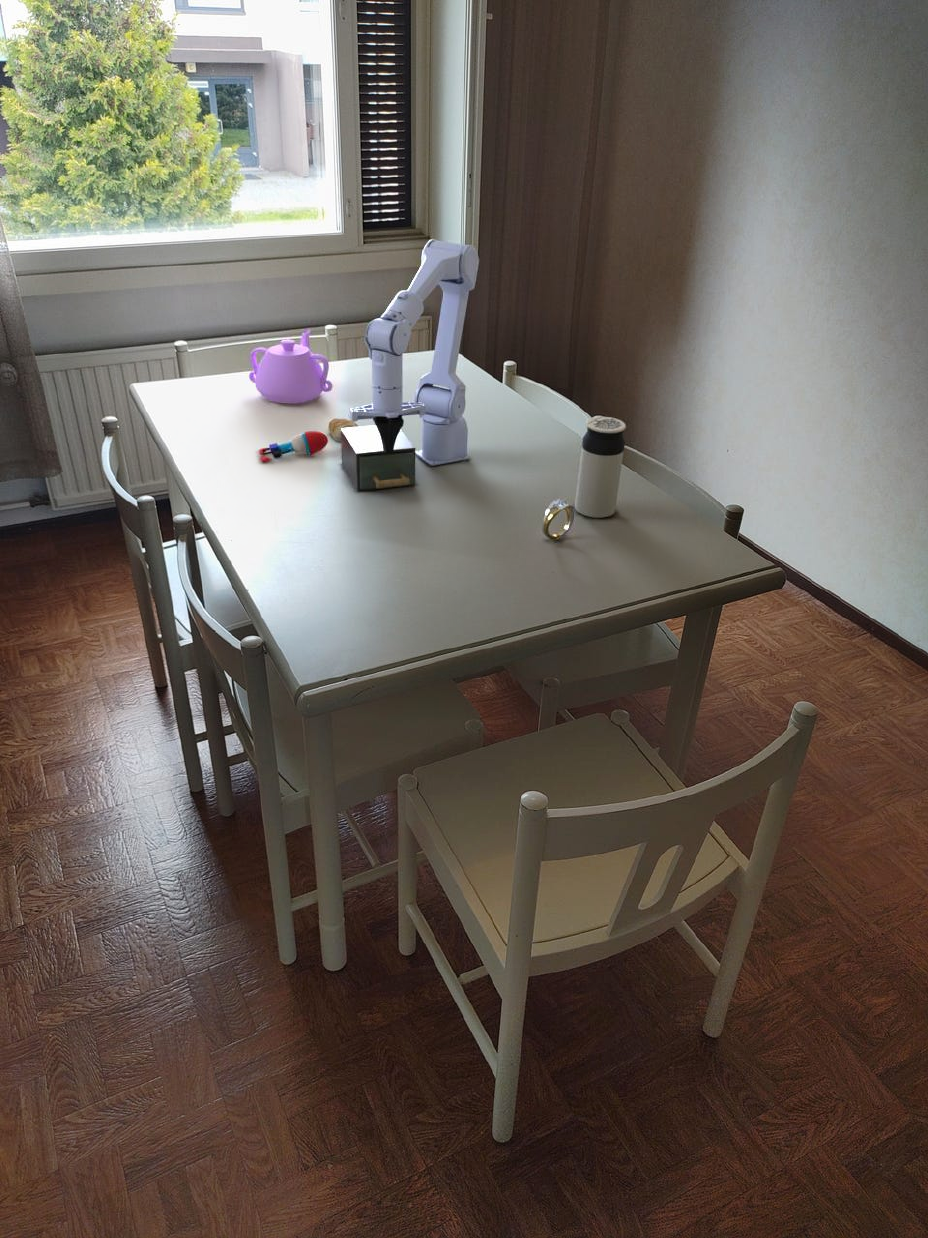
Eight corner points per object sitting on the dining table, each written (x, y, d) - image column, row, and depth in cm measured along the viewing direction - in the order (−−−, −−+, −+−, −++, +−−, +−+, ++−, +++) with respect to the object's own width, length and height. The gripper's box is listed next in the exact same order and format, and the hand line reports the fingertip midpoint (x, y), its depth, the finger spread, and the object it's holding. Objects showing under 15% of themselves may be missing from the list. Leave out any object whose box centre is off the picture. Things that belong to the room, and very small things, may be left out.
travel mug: (622, 511, 180) (635, 424, 170) (597, 522, 175) (609, 434, 166) (591, 497, 185) (602, 412, 175) (566, 508, 180) (576, 422, 170)
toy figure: (264, 470, 193) (332, 454, 195) (258, 449, 190) (327, 432, 193) (260, 459, 199) (327, 443, 202) (254, 438, 197) (322, 422, 199)
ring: (546, 547, 166) (550, 507, 162) (536, 539, 168) (539, 500, 164) (576, 538, 170) (581, 499, 165) (565, 531, 172) (569, 492, 167)
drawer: (420, 492, 182) (420, 462, 178) (366, 498, 178) (365, 467, 175) (396, 459, 195) (396, 430, 192) (346, 464, 192) (345, 434, 188)
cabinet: (415, 485, 186) (415, 447, 182) (357, 491, 183) (356, 453, 178) (396, 459, 197) (396, 423, 193) (341, 464, 194) (340, 428, 189)
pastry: (321, 429, 210) (321, 413, 208) (349, 425, 213) (348, 409, 211) (336, 443, 203) (336, 427, 201) (364, 439, 206) (364, 423, 204)
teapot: (350, 384, 237) (348, 331, 229) (320, 412, 219) (317, 355, 211) (271, 375, 241) (267, 322, 233) (236, 401, 223) (230, 345, 215)
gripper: (355, 394, 167) (357, 463, 174) (430, 388, 171) (429, 455, 178) (346, 382, 172) (348, 449, 179) (419, 376, 176) (418, 442, 184)
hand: (388, 451), depth 179 cm, fingers closed
